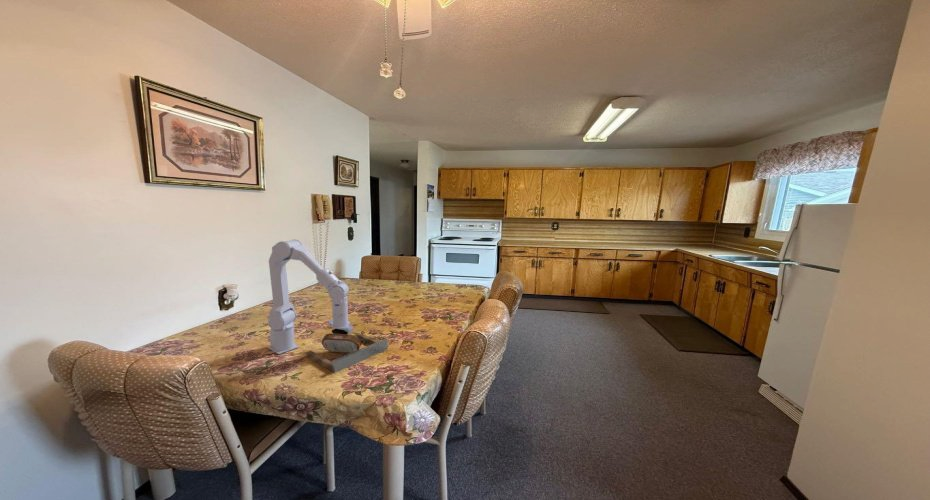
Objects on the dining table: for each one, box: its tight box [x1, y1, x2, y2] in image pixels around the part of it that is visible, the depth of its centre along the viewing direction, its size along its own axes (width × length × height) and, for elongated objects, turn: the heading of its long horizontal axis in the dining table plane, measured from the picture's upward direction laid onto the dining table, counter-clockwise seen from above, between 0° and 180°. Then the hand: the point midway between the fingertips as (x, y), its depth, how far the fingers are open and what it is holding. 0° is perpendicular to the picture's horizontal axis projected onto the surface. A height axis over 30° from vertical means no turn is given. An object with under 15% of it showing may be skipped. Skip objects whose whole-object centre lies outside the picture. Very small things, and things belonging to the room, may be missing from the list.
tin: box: [321, 332, 362, 354], centre depth 117 cm, size 15×3×8 cm, turn 85°
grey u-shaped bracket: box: [306, 332, 389, 374], centre depth 118 cm, size 19×23×4 cm
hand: (341, 345), depth 121 cm, fingers closed
